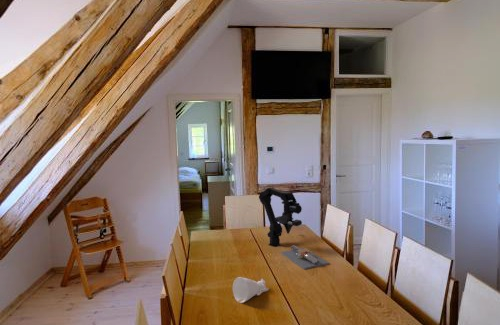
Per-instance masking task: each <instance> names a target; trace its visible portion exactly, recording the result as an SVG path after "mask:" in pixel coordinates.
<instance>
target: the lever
mask: <svg viewBox="0 0 500 325" xmlns="http://www.w3.org/2000/svg"><path fill="white" fill-rule="evenodd" d="M306 254H308V252H307V251H306V252H302V253H297V254H296V257H299V256H301V255H306Z"/></svg>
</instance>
